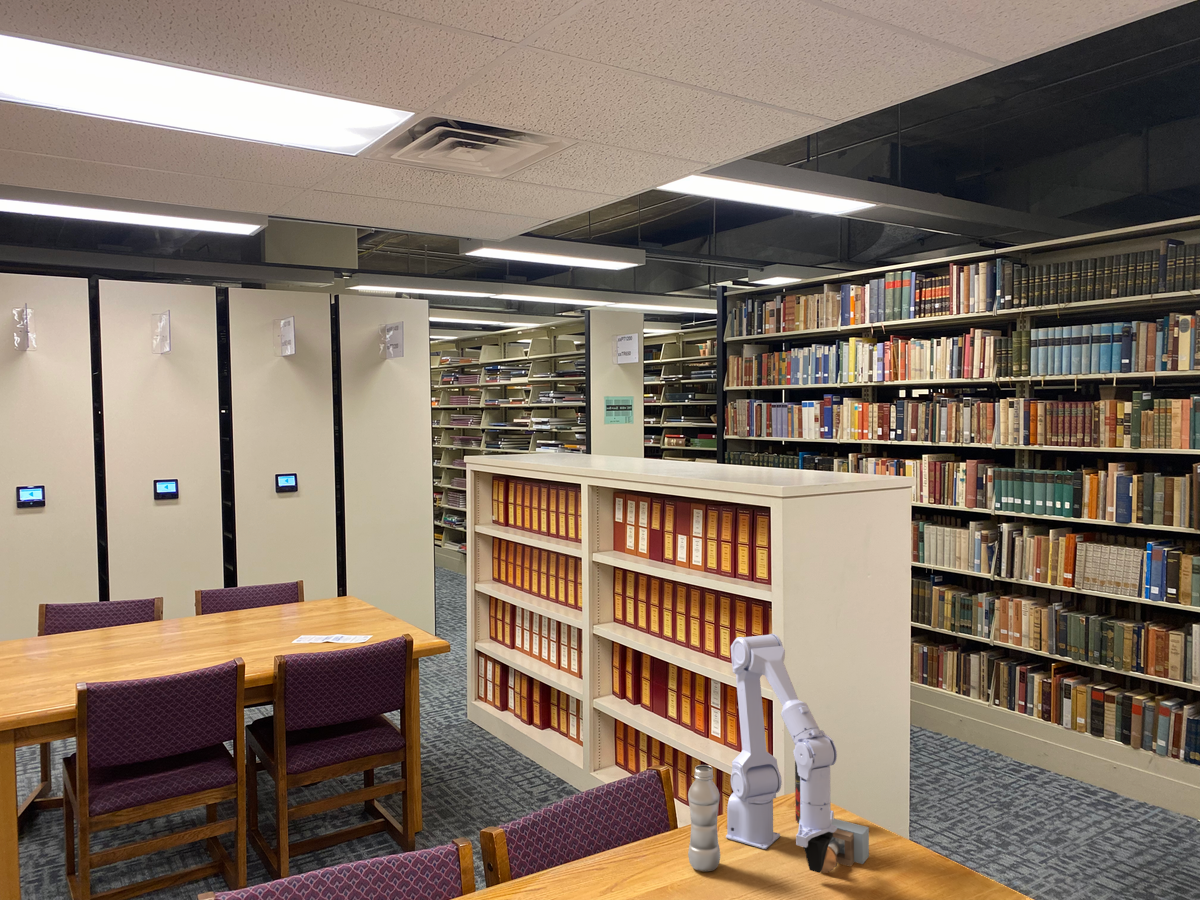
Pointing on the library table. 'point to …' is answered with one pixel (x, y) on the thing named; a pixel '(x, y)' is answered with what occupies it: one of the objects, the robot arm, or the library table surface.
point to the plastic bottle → (704, 820)
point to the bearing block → (856, 839)
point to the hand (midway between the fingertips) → (815, 870)
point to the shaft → (832, 854)
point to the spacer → (849, 847)
